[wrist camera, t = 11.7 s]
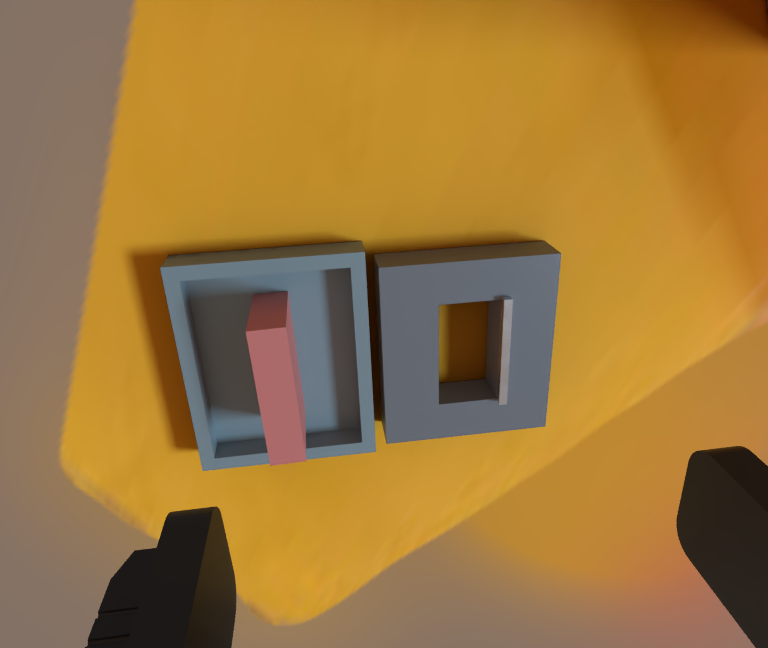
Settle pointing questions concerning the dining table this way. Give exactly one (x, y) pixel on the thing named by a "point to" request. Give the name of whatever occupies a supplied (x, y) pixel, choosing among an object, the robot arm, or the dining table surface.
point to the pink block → (277, 377)
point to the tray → (312, 337)
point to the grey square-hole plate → (504, 338)
